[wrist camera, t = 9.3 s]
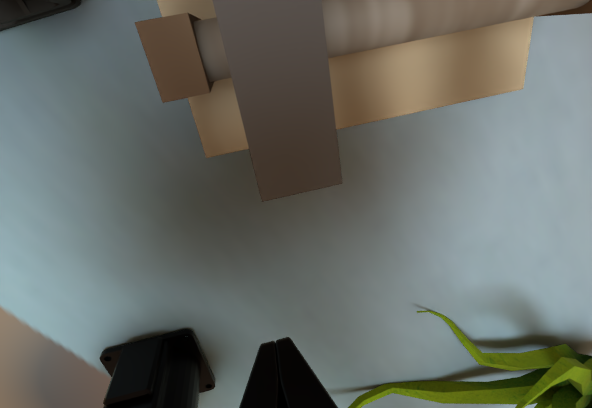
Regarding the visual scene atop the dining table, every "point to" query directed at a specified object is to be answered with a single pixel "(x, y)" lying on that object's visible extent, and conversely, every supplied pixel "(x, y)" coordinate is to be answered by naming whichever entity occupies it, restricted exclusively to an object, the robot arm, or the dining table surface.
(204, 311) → the dining table surface
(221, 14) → the collar
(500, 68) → the pipe stand
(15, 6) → the end cap
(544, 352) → the decorative plant
